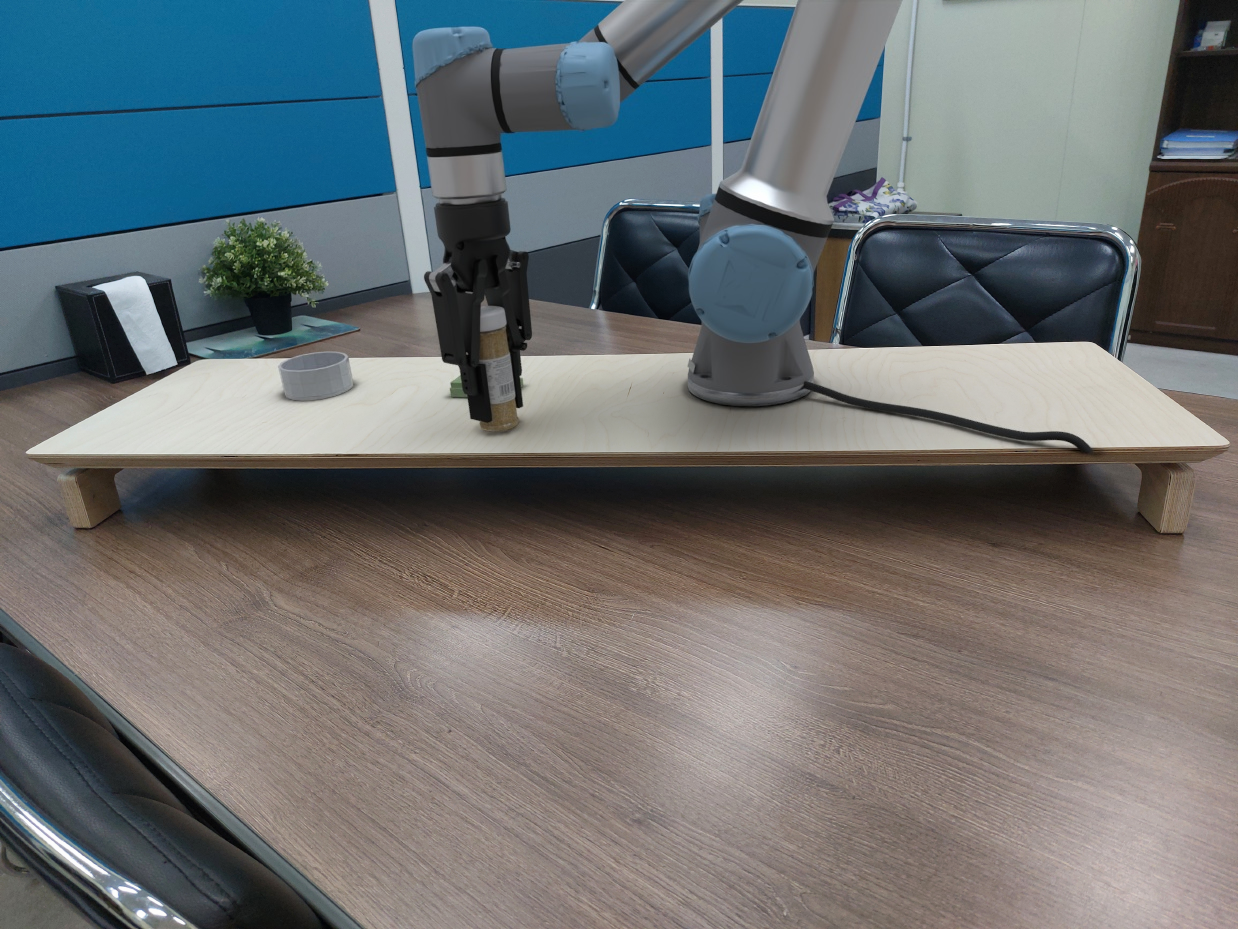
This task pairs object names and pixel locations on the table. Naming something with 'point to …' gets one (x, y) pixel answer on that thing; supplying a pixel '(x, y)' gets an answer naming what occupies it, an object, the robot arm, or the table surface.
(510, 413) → the spice jar
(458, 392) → the green stepped block
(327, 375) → the grey short cylinder
